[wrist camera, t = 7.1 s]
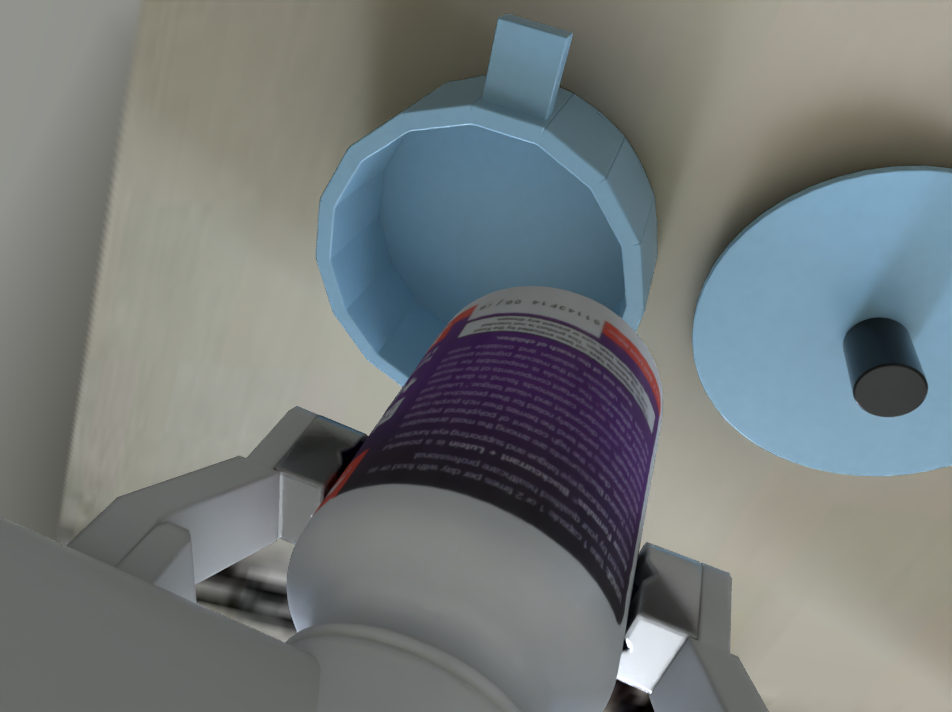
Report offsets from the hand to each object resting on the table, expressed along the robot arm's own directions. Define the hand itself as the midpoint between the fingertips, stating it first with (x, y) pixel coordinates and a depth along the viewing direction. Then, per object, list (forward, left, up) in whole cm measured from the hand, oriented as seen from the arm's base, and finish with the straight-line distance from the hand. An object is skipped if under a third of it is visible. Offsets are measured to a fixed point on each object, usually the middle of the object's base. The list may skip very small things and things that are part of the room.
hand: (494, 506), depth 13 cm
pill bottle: (0, 0, -4) cm, 4 cm away
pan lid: (-12, +3, -19) cm, 23 cm away
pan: (+4, +4, -20) cm, 21 cm away
